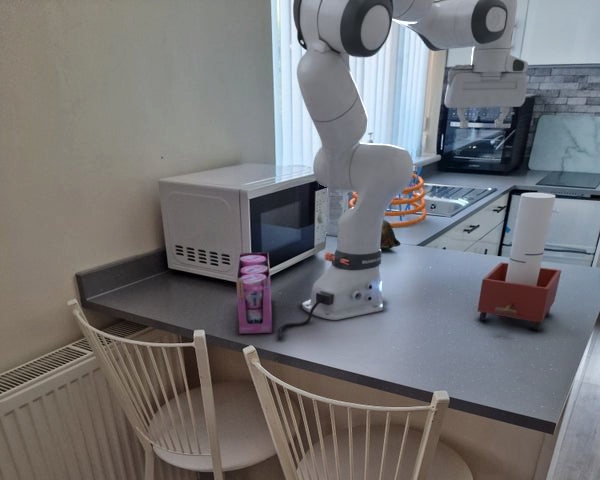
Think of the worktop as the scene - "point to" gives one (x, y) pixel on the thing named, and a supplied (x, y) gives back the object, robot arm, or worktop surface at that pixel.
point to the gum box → (254, 293)
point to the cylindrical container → (529, 238)
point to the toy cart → (518, 295)
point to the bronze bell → (388, 237)
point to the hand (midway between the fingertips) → (480, 127)
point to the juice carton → (335, 209)
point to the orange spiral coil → (406, 202)
